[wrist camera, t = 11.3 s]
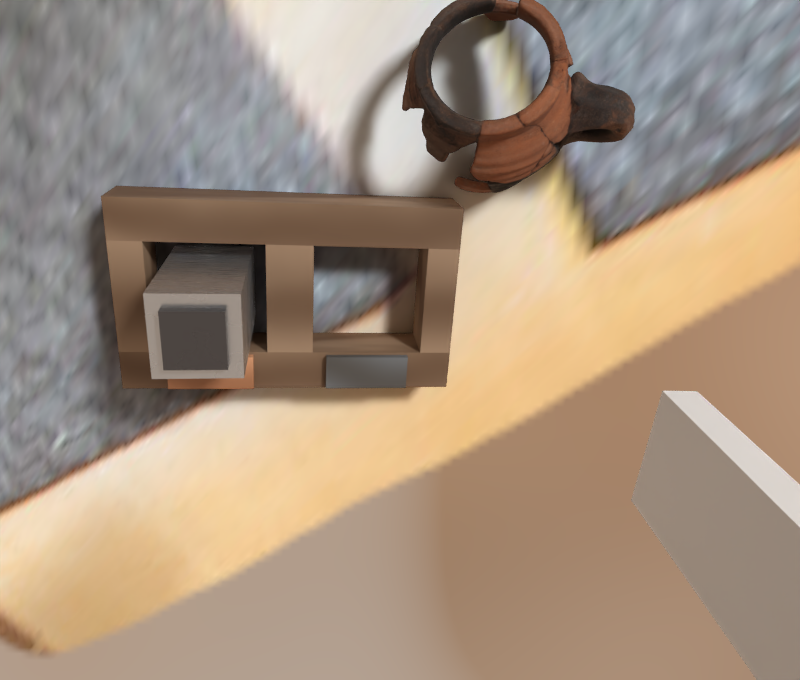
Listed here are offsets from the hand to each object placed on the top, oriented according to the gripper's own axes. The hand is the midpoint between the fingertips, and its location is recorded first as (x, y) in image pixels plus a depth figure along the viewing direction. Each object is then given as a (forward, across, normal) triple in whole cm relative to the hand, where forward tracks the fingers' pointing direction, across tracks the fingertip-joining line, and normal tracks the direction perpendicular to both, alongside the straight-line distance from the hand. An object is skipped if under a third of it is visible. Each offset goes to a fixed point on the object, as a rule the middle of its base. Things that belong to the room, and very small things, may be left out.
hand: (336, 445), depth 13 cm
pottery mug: (+28, +10, +5) cm, 30 cm away
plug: (+27, -6, -7) cm, 29 cm away
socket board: (+27, -1, -6) cm, 28 cm away
